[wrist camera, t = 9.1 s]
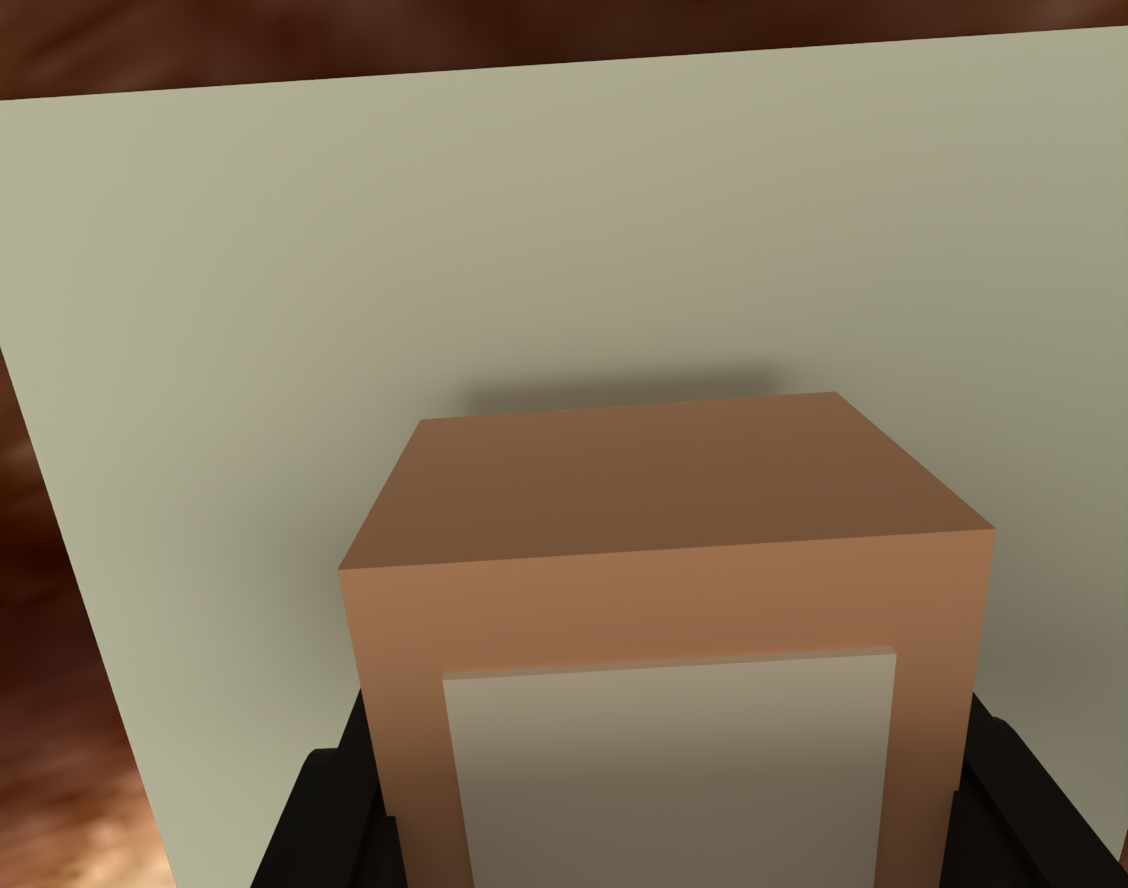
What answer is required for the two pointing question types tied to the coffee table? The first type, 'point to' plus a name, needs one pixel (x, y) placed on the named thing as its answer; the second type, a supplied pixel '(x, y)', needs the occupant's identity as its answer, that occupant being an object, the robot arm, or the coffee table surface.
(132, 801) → the coffee table surface
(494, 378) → the play mat
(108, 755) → the coffee table surface
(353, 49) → the coffee table surface
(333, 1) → the coffee table surface
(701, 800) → the block
